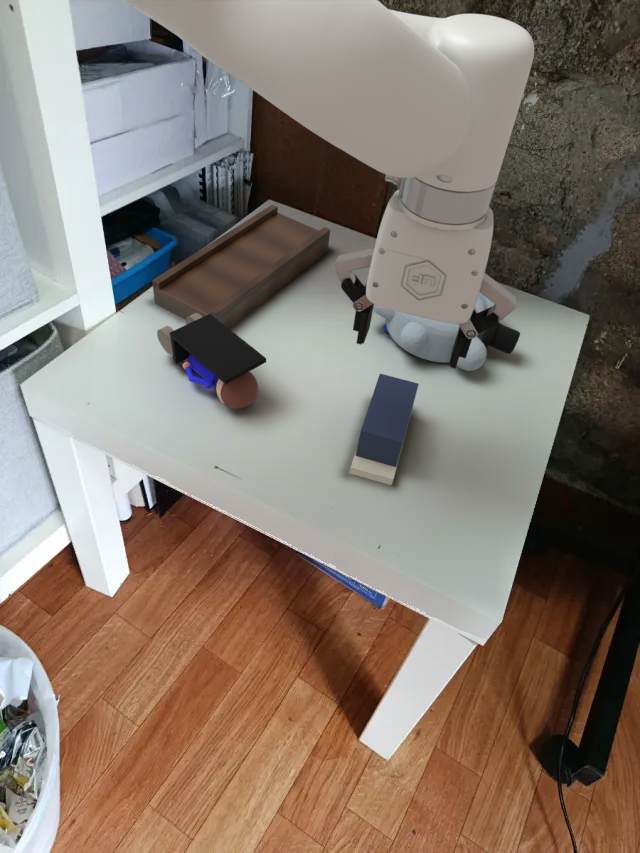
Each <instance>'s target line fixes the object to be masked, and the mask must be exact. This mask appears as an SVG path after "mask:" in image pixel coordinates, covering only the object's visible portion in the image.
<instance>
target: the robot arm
mask: <svg viewBox="0 0 640 853" xmlns="http://www.w3.org/2000/svg"><path fill="white" fill-rule="evenodd" d="M121 1H122V2H124V3H125V4H127V5H128V6H130V7H132V8H133V9H135V10H136V11H138V12H140V13H142V14H143V15H145V16H146V17H148V18H149V19H151V20H153V21H154V22H156V23H157V24H159V25H160V26H162V27H163V28H165V29H166V30H168V31H170V32H171V33H172V34H174V35H175V36H177V37H178V38H179V39H180V40H182V41H183V42H184V43H186V44H187V45H188V46H189V47H190V48H192V49H193V50H194V51H195V52H197V53H198V54H199V55H200V56H202V57H204V59H206V60H208V61H209V62H210V63H212V64H213V65H215V66H216V67H218V68H220V69H221V70H222V71H224V72H225V73H227V74H229V75H230V76H232V77H233V78H235V79H236V80H238V81H239V82H241V83H242V84H244V85H245V86H247V88H250V89H251V90H252V91H254V92H255V93H256V94H257V95H259V96H261V97H262V98H263V99H265V100H266V101H267V102H269V103H270V104H271V105H273V106H275V107H276V108H277V109H278V110H280V111H281V112H283V113H284V114H286V115H287V116H288V117H290V118H291V119H293V120H294V121H296V122H297V123H298V124H299V125H301V126H302V127H305V128H306V129H307V130H309V131H311V132H312V133H313V134H315V135H316V136H318V137H319V138H322V139H323V140H324V141H326V142H327V143H329V144H331V145H333V146H334V147H336V148H337V149H340V150H341V151H343V152H345V153H346V154H348V155H350V156H351V157H352V158H355V159H356V160H358V161H359V162H361V163H363V164H365V165H366V166H368V167H370V168H372V169H374V170H376V171H377V172H379V173H381V174H383V175H385V176H384V181H385V182H388V183H392V184H393V185H395V186H396V191H394V193H393V194H392V196H391V197H390V198H389V201H388V202H387V205H386V208H385V210H384V212H383V216H382V219H381V221H380V224H379V228H378V232H377V237H376V239H375V244H374V247H371V248H367V249H362V250H357V251H353V252H347V253H344V254H339V255H338V256H337V258H336V259H335V261H334V263H333V268H334V270H335V273H336V275H337V277H338V281H339V282H340V283H341V284H340V287H341V290H342V291H343V292H344V293H345V295H346V296H347V297H348V298H349V300H350V301H351V302H352V308H353V309H354V310H355V314H354V320H353V325H352V326H353V328H352V331H354V332H357V338H356V344H357V345H362V344H363V345H364V344H365V341H366V339H367V337H368V334H369V331H370V328H371V323H372V318H373V317H372V316H373V311H374V309H373V307H374V304H375V305H377V306H380V307H383V308H386V309H390V310H394V311H398V312H402V313H406V314H410V315H414V316H418V317H423V318H427V319H431V320H435V321H439V322H444V323H449V324H459V326H460V327H459V330H458V333H457V336H456V339H455V343H454V346H453V349H452V354H451V358H450V362H448V366H449V367H450V368H452V369H456V368H457V362H458V359H459V357H462V358H466V356H467V353H468V350H469V347H470V344H471V341H472V339H474V338H476V337H477V334H478V333H480V334H481V333H484V332H485V330H488V329H490V328H492V327H495V326H496V325H497V324H498V322H499V323H500V321H502V320H504V318H506V317H507V316H508V315H510V314H511V313H512V312H513V311H515V309H516V306H517V297H516V296H515V295H514V294H512V293H511V292H510V291H509V290H507V289H506V288H505V287H503V285H502V284H500V283H499V282H497V281H496V280H495V279H493V278H492V277H491V276H490V275H489V274H487V273H486V269H487V265H488V261H489V256H490V252H491V247H492V241H493V235H494V211H493V209H492V208H491V207H490V205H491V202H492V199H493V195H494V192H495V188H496V185H497V182H498V177H499V174H500V171H501V168H502V166H503V162H504V158H505V156H506V151H507V149H508V146H509V142H510V139H511V136H512V133H513V129H514V126H515V123H516V119H517V116H518V113H519V109H520V107H521V103H522V99H523V96H524V94H525V91H526V90H525V89H526V86H527V83H528V79H529V76H530V72H531V70H532V65H533V61H534V58H535V44H534V40H533V37H532V36H531V34H530V33H529V31H528V30H527V29H525V28H524V27H523V26H521V25H519V24H518V23H516V22H513V21H511V20H509V19H506V18H503V17H498V16H494V15H490V14H482V13H460V14H454V15H450V16H447V17H434V16H427V15H420V14H413V13H409V12H403V11H397V10H393V9H389V8H387V6H385V5H384V4H383V3H382V2H380V1H379V0H121ZM366 268H369V271H368V275H367V281H366V283H363V282H361V280H360V279H359V277H358V276H357V275H356V273H354V271H355V270H361V269H366ZM479 293H481V294H482V295H484V296H485V297H486V298H488V299H489V300H490V301H491V302H493V303H494V306H493V307H490V308H488V309H485V310H483V311H481V312H479V313H478V311H477V309H476V307H475V305H476V301H477V298H478V295H479Z"/></svg>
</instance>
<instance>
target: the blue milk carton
mask: <svg viewBox="0 0 640 853" xmlns="http://www.w3.org/2000/svg"><path fill="white" fill-rule="evenodd" d="M419 385H420V383H419V382H418V383H417V382H415V381H410V380H406V379H403V378H399V377H395V376H391V375H388V374H384V373H379V375H378V377H377V381H376V384H375V386H374V389H373V392H372V396H371V399H370V402H369V405H368V408H367V411H366V413H365V416H364V419H363V423H362V425H361V428H360V431H359V432H360V433H359V437H358V441H357V447H356V450H355V453H354V456H353V459H352V462H351V465H350V469H349V474H350V475H354V476H357V477H361V478H364V479H367V480H371V481H375V482H378V483H381V484H385V485H389V486H393V483H394V479H395V476H396V473H397V472H396V471H397V469H398V468H397V467H398V464H399V460H400V456H401V453H402V449H403V445H404V441H405V438H406V434H407V430H408V428H409V422H410V419H411V415H412V412H413V407H414V403H415V399H416V396H417V391H418V389H419Z"/></svg>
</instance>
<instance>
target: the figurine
mask: <svg viewBox="0 0 640 853" xmlns="http://www.w3.org/2000/svg"><path fill="white" fill-rule="evenodd" d="M493 306H494V303H493V302H491V301H490V300H489V299H488V298H486V297H485V296H484V295H482V294H481V293H480V292H479V295H478V298H477V301H476V305H475V307H476V309H477V311H478V313H479V312H481V311H483V310H485V309H488V308H490V307H493ZM373 311H374V313H375V314H377V315H379V316H380V317H381V318H384V319H385V323H384V325H383V327H382V330H383V331H384V332H386V333H388V334H389V336H390V337H391V339H392V340H393V341H394V342H395V343H396V344H397V345H398V346H399V347H400V348H402V349H403V350H404V351H406V352H407V353H410V354H411V355H413V356H415V357H418V358H420V359H422V360H427V361H430V362H434V363H445V364H447V363H449V362H450V358H451V354H452V349H453V346H454V343H455V339H456V336H457V333H458V330H459V327H460V326H459V324H449V323H444V322H439V321H435V320H431V319H427V318H423V317H418V316H414V315H410V314H406V313H402V312H398V311H394V310H390V309H386V308H383V307H380V306H377V305H375V304H374V307H373ZM480 335H481V333H478V334H477V337H476V338H474V339H472V341H471V344H470V347H469V350H468V353H467V356H466V358H462V357H459V359H458V362H457V365H456V367H458V368H460V369H461V370H464V371H467V372H471V371H475V370H479V369H480V368H481V367H482V366H483V365H484V363H485V362H486V359H487V356H488V354H487V353H488V352H487V348H488V347H489V348H492V349H495V350H497V351H500V352H503V353H505V354H507V355H511V354H512V353H513V351H514V349H515V348H516V346H517V344H518V342H519V339H520V336H521V332H520V331H519V330H517V329H514V328H512V327H509V326H507V325H504V324H502V323H500V321H499V322H498V324H497V325H496V326H495V327H492V328H490V329H488V330H485V331H483V335H482V338H481V339H480V338H479V337H480Z"/></svg>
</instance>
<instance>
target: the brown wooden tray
mask: <svg viewBox="0 0 640 853" xmlns="http://www.w3.org/2000/svg"><path fill="white" fill-rule="evenodd" d="M278 209H279V207H278V206H277V205H275V204H271V205H269V206H267V207H266V208H264V209H263V210H261V211H259V212H257V213H256V214H254V215H253V216H252V217H250V218H248V219H247V220H245V221H243V222H242V223H240V224H239V225H237V226H236V227H234V228H232V229H230V230H229V231H228V232H226V233H224V234H223V235H221V236H220V237H218V238H216V239H215V240H214V241H212V242H210V243H209V244H207V245H205V246H204V247H202V248H200V249H199V250H197V251H196V252H194V253H193V254H192V255H189V256H188V257H187V258H185V259H183V260H182V261H180V262H179V263H177V264H176V265H174V266H172V267H171V268H169V269H167V270H166V271H164V272H163V273H161V274H160V275H158V276H156V277H155V278H153V279H152V280H151V282H152V290H153V300H154V304H155V305H156V306H159V307H160V308H162V309H164V310H165V311H168V312H170V313H171V314H174V315H175V316H178V317H179V318H181V319H183V320H185V321H186V318H187V317H188V316H190V315H193V314H195V313H198V314H200V315H201V316H202V317H204V316H206V315H208V314H211V315H212V316H214V317H215V318H216V319H217V320H219V321H220V322H221V323H222V324H224V325H225V326H226V327H227V328H229V329H230V328H231V327H233V326H234V325H235V324H236V323H238V322H239V321H240V320H241V319H243V318H244V317H246V315H248V314H250V312H251V311H253V310H254V309H256V308H257V307H258V306H260V305H261V304H262V303H264V301H266V300H267V299H269V298H270V297H271V296H272V295H273V294H275V293H276V292H277V291H279V290H281V288H283V287H284V286H285V285H286V284H288V283H289V282H290V281H292V280H293V279H294V278H296V277H297V276H299V275H300V273H302V272H303V271H305V270H306V269H307V268H309V267H310V266H311V265H312V264H314V263H315V262H316V261H317V260H318V259H320V258H322V256H324V255H325V254H326V253H328V251H329V245H330V236H331V229H330V228H328V227H325V226H323V227H322V228H321V229H316V228H314V227H312V226H310V225H307V224H305V223H303V222H300V221H299V220H296V219H294V218H292V217H289V216H287V215H284V214H282V213H280V212H279V210H278Z"/></svg>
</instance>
